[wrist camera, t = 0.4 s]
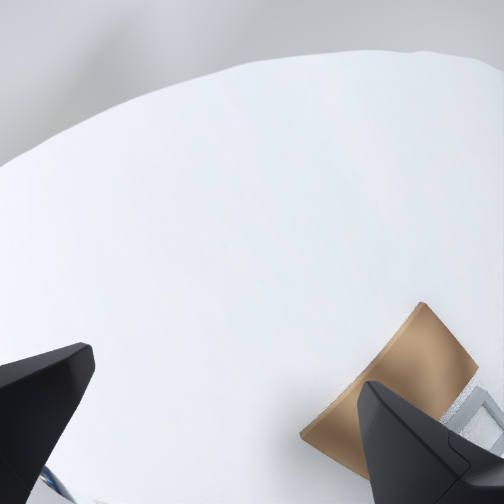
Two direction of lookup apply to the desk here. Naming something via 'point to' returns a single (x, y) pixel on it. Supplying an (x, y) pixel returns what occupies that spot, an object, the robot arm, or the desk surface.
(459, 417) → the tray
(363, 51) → the desk surface
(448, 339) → the board
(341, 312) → the desk surface
